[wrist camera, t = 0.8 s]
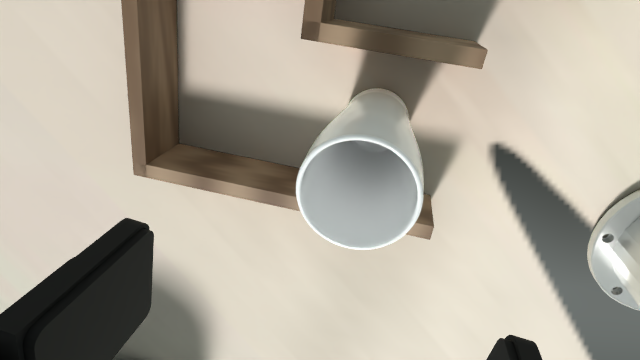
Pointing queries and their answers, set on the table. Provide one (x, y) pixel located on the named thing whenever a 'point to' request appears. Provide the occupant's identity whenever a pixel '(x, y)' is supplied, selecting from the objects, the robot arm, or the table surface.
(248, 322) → the table surface
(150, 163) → the angular wooden frame
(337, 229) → the white cup
